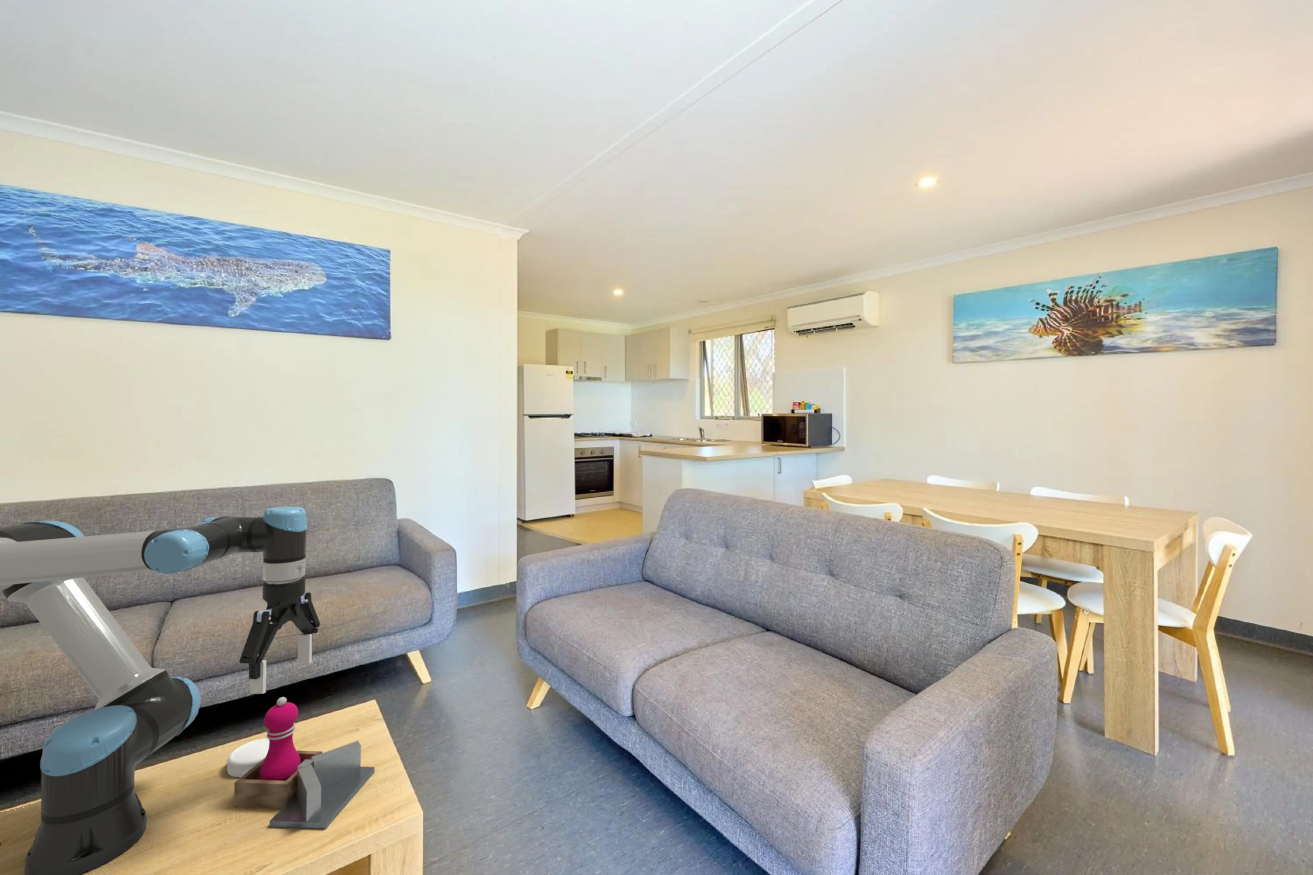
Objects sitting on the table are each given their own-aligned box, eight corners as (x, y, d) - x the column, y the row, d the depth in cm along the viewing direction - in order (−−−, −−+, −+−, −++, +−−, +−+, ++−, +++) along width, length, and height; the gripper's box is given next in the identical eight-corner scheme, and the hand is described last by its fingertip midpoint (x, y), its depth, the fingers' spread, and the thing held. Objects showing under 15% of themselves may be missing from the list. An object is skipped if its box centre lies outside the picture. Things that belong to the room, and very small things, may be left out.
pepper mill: (278, 803, 108) (280, 708, 108) (250, 797, 109) (252, 703, 109) (308, 780, 115) (310, 691, 115) (281, 775, 117) (283, 687, 116)
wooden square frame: (234, 806, 107) (234, 782, 107) (274, 771, 118) (274, 749, 118) (286, 808, 107) (287, 784, 107) (322, 773, 118) (322, 751, 118)
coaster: (292, 753, 125) (292, 739, 125) (254, 781, 115) (254, 765, 115) (255, 749, 126) (255, 734, 126) (215, 775, 116) (215, 760, 116)
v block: (325, 828, 101) (326, 792, 101) (269, 826, 102) (270, 790, 102) (374, 772, 118) (375, 740, 118) (326, 770, 119) (326, 739, 119)
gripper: (255, 598, 99) (253, 708, 99) (338, 564, 124) (336, 652, 124) (217, 596, 99) (215, 706, 100) (307, 563, 124) (305, 651, 125)
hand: (282, 676), depth 112 cm, fingers open, 13 cm apart
